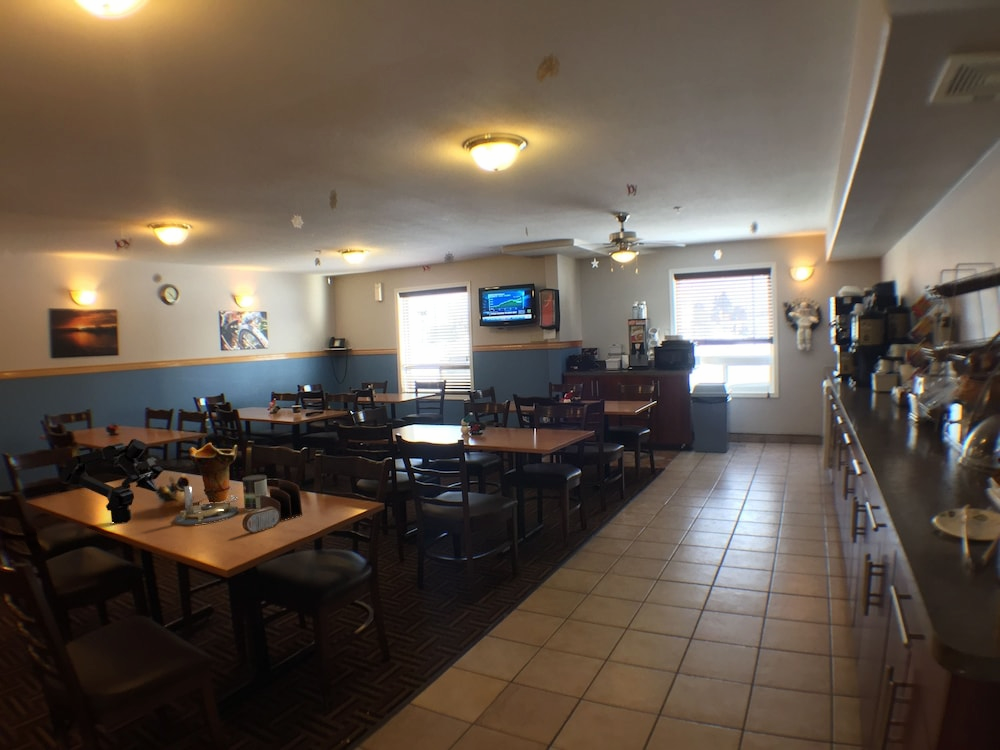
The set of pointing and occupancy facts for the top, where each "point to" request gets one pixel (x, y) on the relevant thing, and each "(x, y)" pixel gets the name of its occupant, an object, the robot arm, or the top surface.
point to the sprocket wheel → (202, 507)
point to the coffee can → (254, 491)
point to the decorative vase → (214, 470)
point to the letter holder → (284, 500)
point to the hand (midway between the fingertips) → (156, 490)
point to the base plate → (206, 518)
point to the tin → (261, 519)
